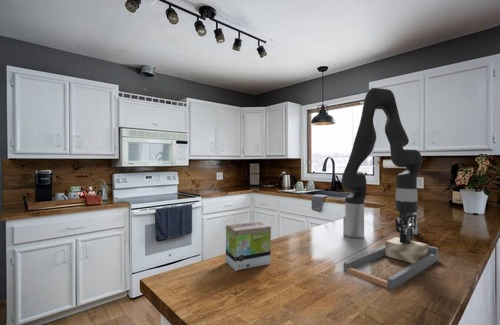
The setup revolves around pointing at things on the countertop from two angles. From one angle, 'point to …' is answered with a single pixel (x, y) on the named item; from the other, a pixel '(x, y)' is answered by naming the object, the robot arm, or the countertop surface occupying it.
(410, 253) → the beige block
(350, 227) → the robot arm
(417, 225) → the candy bar box
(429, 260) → the frame
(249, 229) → the tea box
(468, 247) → the countertop surface
